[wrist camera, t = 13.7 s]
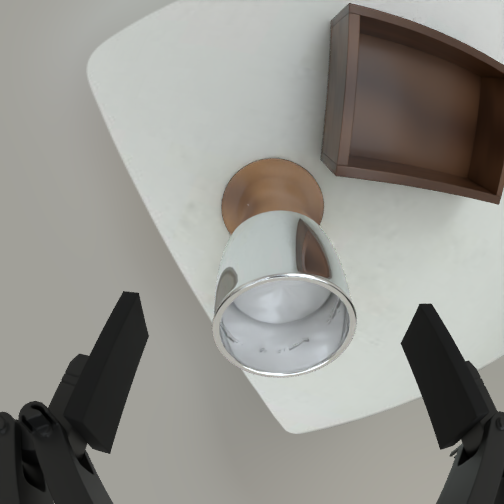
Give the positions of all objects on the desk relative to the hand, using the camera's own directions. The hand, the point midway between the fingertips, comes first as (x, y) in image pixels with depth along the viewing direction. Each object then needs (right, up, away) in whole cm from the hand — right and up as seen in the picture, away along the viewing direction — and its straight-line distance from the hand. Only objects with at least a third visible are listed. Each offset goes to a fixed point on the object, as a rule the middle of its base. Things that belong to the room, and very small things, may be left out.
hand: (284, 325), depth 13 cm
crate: (+13, +16, +8) cm, 22 cm away
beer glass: (0, +7, +13) cm, 15 cm away
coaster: (0, +7, +13) cm, 15 cm away
